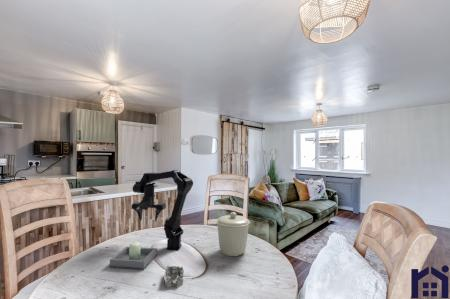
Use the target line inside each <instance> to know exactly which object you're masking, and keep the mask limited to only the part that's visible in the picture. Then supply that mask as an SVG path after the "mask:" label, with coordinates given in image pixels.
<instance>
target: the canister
mask: <svg viewBox="0 0 450 299" xmlns="http://www.w3.org/2000/svg"><path fill="white" fill-rule="evenodd" d="M215 222H216V225H217V237H218V245H219V249H220V250H219V251H220V252H221V253H222V254H224V255H225V256H228V257H238V256H241V255H242V254H244V253H245V251H246V248H247V242H248V233H249V225H250V224H251V221H250V220H249V219H248V218H247V217H245V216H243V215H237V213H236V212H235V211H231V212H230V213H229V214H226V215H222V216H220V217H218V218H217V219H216V220H215Z"/></svg>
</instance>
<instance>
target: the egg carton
mask: <svg viewBox="0 0 450 299" xmlns="http://www.w3.org/2000/svg"><path fill="white" fill-rule="evenodd" d="M184 273H185V270H184V267H183V266H180V267H179V265H177V266H175V265H172V266H171V265H167V266H166V268H165V271H164V276H163V278H164V281H165V284H164V285H165V287H167V288H172V287H173V286H176V287H178V288H180V287H181V286H182V285H183V284H184V277H183V276H184ZM178 274H179V278H178ZM170 275H171V279H172V280H171V281H170Z"/></svg>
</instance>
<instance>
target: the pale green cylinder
mask: <svg viewBox="0 0 450 299" xmlns="http://www.w3.org/2000/svg"><path fill="white" fill-rule="evenodd" d="M141 244H142V243H140V242H132V243H130V244H129V246H128V247H129V260H140V250H141Z"/></svg>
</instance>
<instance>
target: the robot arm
mask: <svg viewBox="0 0 450 299" xmlns="http://www.w3.org/2000/svg"><path fill="white" fill-rule="evenodd" d="M169 178H170V179H172V180H173V182H174V184H176V186H177V187H176V191H177V195H176V197H175V202H174V205H173V208H172V211H171V215H170V217H169V218H166V219H165V221H164V225H163V231H164V233H165V237H166V239H167V240H166V241H167V244H166V245H167V246H166V247H167V248H166V250H167V251H168V250H169V251H179V250H180V249H181V247H182V245H183V244H182V235H183V234H184V233H185V232H184V230H183V229H182V227H181V220H180V217H181V214H182V211H183V208H184V204H185V201H186V198H187V195H188V193H190V192H191V189H192V187H193V185H194V181H193V179H192V178H191V177H188V176H187V175H186V174H185V173H182V172H181V171H180V170H178V169H174V170H170V171H162V172H146V173H145V172H144V173H143V175H142V177H141V178H140V180H139V181H138V180H137V181H135V183H133V184H134V185H133V186H132V191H133V193H137V194H143V196H142V199H141V200H140V202H138V201H136V202H133V203H132V204H131V206H130V207H131V210H133V211H135V212H136V213H137V216H138V218H139V221H142V220H143V211H147V210H148V209H149V208H150V209H155V210H154V213H155V215H154V216H155V218H154V221H155V222H157V221H158V218H159V217H160V215H161V212H162V211H163V210H165V209H166V206H167V205H166V203H163V202H158V203H157V204H156V202H155V197H156V195H155V187H158V184H157V183H155V182H157V181H159V180H163V179H169Z"/></svg>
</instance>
